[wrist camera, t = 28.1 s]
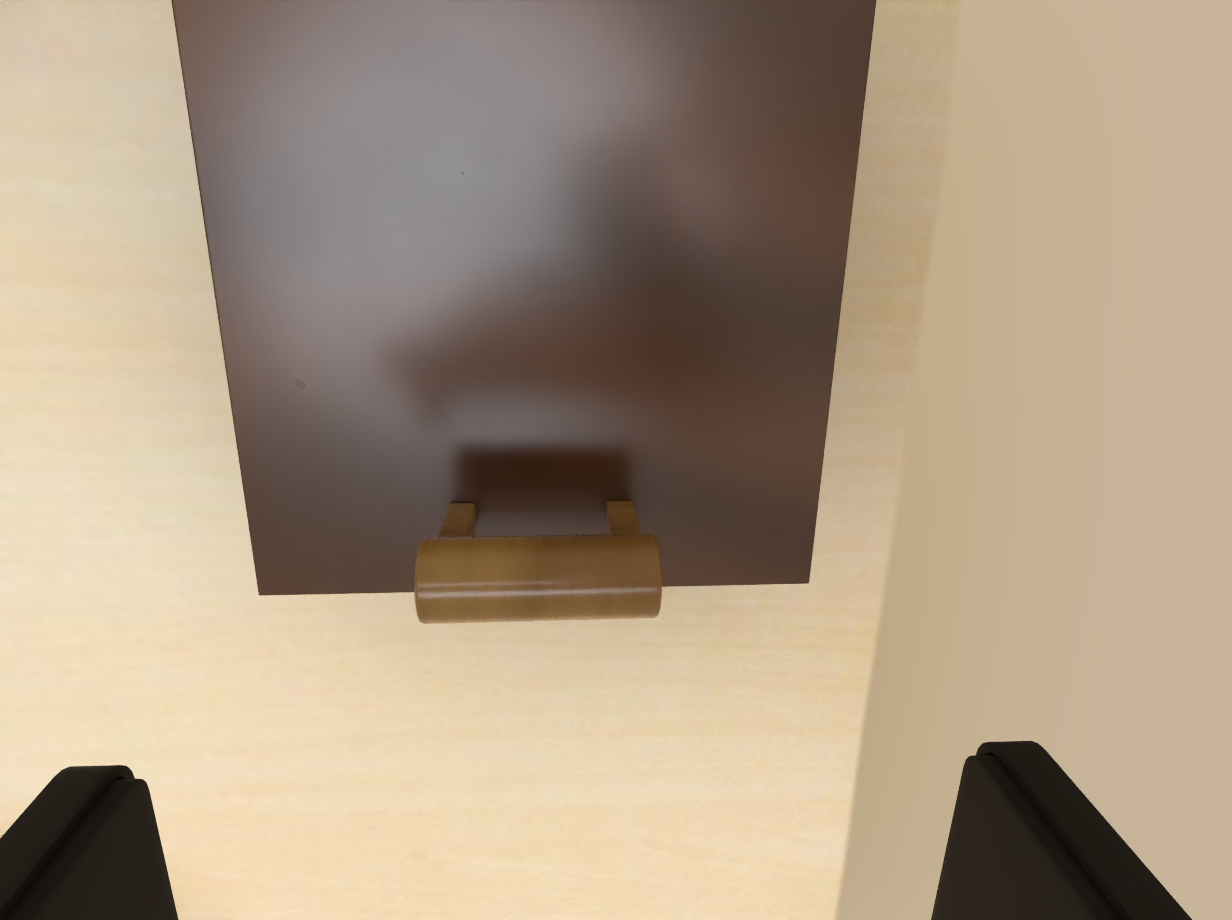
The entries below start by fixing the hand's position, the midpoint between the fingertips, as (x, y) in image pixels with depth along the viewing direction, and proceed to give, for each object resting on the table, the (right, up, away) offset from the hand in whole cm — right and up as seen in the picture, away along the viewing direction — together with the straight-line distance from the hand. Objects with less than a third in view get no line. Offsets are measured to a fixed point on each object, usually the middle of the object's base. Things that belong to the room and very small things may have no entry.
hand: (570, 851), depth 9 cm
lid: (-1, +10, +9) cm, 13 cm away
